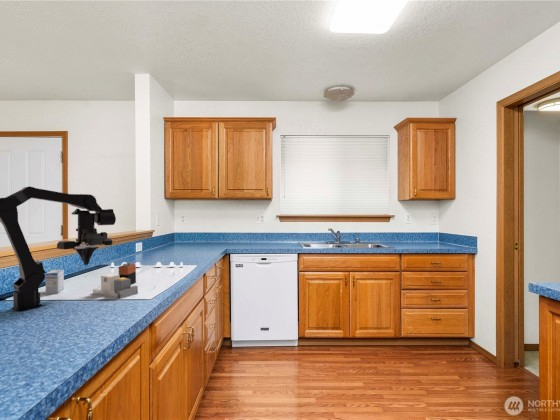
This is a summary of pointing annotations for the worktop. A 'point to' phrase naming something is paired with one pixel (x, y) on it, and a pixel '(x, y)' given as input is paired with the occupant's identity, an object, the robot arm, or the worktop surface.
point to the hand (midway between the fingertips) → (86, 264)
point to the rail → (120, 294)
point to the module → (108, 282)
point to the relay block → (121, 284)
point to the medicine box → (54, 281)
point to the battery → (128, 272)
